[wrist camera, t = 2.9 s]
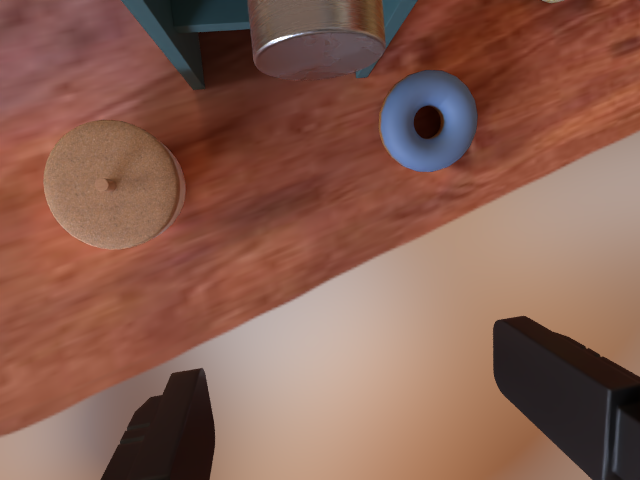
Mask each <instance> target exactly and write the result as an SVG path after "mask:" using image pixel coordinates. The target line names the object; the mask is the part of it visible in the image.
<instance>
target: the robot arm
mask: <svg viewBox="0 0 640 480" xmlns="http://www.w3.org/2000/svg"><path fill="white" fill-rule="evenodd" d="M493 367H494V369H493V370H494V377H495V381H496V383H497V386H498V388H499V389H500V391H501V392H502V394H503V395H504V396H505V397H506V398H507V399H508V400H510V402H511V403H513V404H514V405H515V406H516V407H517V408H518V409H519V410H520V411H521V412H522V413H523V414H524V415H525V416H526V417H527V418H528V419H529V420H530V421H531V422H533V423H534V424H535V425H536V426H537V427H538V428H539V429H540V430H541V431H542V432H543V433H544V434H545V435H546V436H547V437H548V438H549V439H550V440H552V442H553V443H554V444H556V445H557V446H558V447H559V448H560V449H561V450H562V451H563V452H564V453H565V454H566V455H567V456H568V457H569V458H570V459H571V460H572V461H573V462H574V463H575V464H577V465H578V466H579V467H580V468H581V469H582V470H583V471H584V472H585V473H586V474H587V475H588V476H589V477H590V478H591V479H592V480H640V377H639V376H637V375H635V374H633V373H632V372H630V371H628V370H626V369H625V368H623V367H621V366H619V365H617V364H616V363H614V362H612V361H610V360H609V359H607V358H605V357H600V355H599V354H598V353H596V352H594V351H593V350H591V349H589V348H588V349H586V347H585V346H584V345H582V344H580V343H578V342H577V341H575V340H573V339H571V338H570V337H567V336H564V335H561V334H558V333H555V332H552V331H551V330H549V329H547V328H545V327H544V326H542V325H540V324H538V323H537V322H535V321H533V320H531V319H530V318H528V317H526V316H520V317H514V318H507V319H501V320H497V321H496V322H495V324H494V328H493ZM214 448H215V429H214V420H213V414H212V409H211V403H210V398H209V392H208V386H207V382H206V375H205V372H204V370H203V368H200V369H194V370H189V371H182V372H176V373H172V374H171V376H170V378H169V381H168V383H167V385H166V388H165V390H164V392H163V395H160V396H154V397H151V398H149V399H148V400H147V401H146V402H145V403H144V404H143V405H142V406H141V407H140V408H139V409H138V410H137V411H136V412H135V413H134V415H133V417H132V419H131V421H130V423H129V425H128V427H127V431H125V433H124V435H123V437H122V439H121V441H120V445H118V447H117V449H116V451H115V453H114V455H113V457H112V459H111V460H110V462H109V464H108V466H107V468H106V470H105V472H104V474H103V476H102V478H101V480H209V479H210V473H211V467H212V461H213V455H214Z"/></svg>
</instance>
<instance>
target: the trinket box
mask: <svg viewBox="0 0 640 480" xmlns="http://www.w3.org/2000/svg"><path fill="white" fill-rule="evenodd" d="M44 192H45V196H46V200H47V203H48V205H49V208H50V210H51V212H52V214H53V215H54V217H55V218H56V220H57V221H58V222H59V224H60V225H61V226H62V227H63V228H64V229H65V230H66V231H67V232H68V233H70V234H71V235H72V236H73V237H75V238H77V239H78V240H80V241H82V242H84V243H86V244H89V245H91V246H95V247H98V248H103V249H125V248H130V247H134V246H137V245H140V244H143V243H145V242H147V241H149V240H151V239H153V238H155V237H157V236H158V235H160V234H161V233H163V232H164V231H165V230H167V229H168V228H169V227H170V226H171V225H172V224H173V223H174V222H175V220H176V219H177V217H178V216H179V214H180V212H181V210H182V207H183V204H184V200H185V194H186V185H185V179H184V174H183V171H182V169H181V166H180V164H179V163H178V161H177V159H176V157H175V156H174V155H173V154H172V153H171V151H170V150H169V149H168V148H167V147H166V146H165V145H164V144H163V143H162V142H160V141H159V140H157V139H156V138H155V137H154V136H152V135H151V134H149V133H148V132H146V131H145V130H143V129H141V128H139V127H137V126H135V125H132V124H129V123H126V122H122V121H115V120H99V121H93V122H89V123H86V124H83V125H80V126H78V127H76V128H74V129H73V130H71V131H70V132H68V133H67V134H66V135H64V136H63V137H62V138H61V139H60V140H59V142H58V143H57V144H56V145H55V147H54V148H53V150H52V151H51V153H50V155H49V158H48V160H47V163H46V167H45V171H44Z"/></svg>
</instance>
